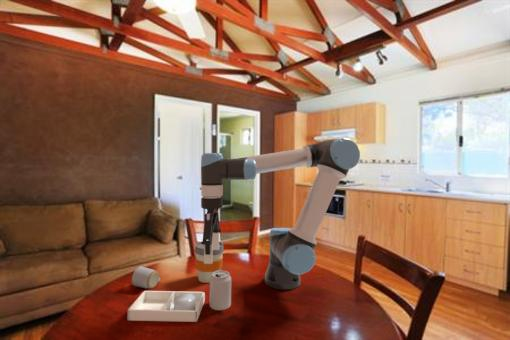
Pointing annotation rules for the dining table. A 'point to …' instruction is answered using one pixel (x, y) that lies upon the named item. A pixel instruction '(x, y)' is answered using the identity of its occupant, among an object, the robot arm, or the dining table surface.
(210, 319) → the dining table surface
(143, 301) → the caddy
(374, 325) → the dining table surface
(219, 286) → the can
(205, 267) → the reusable coffee cup
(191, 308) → the white dome
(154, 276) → the ceramic mug
